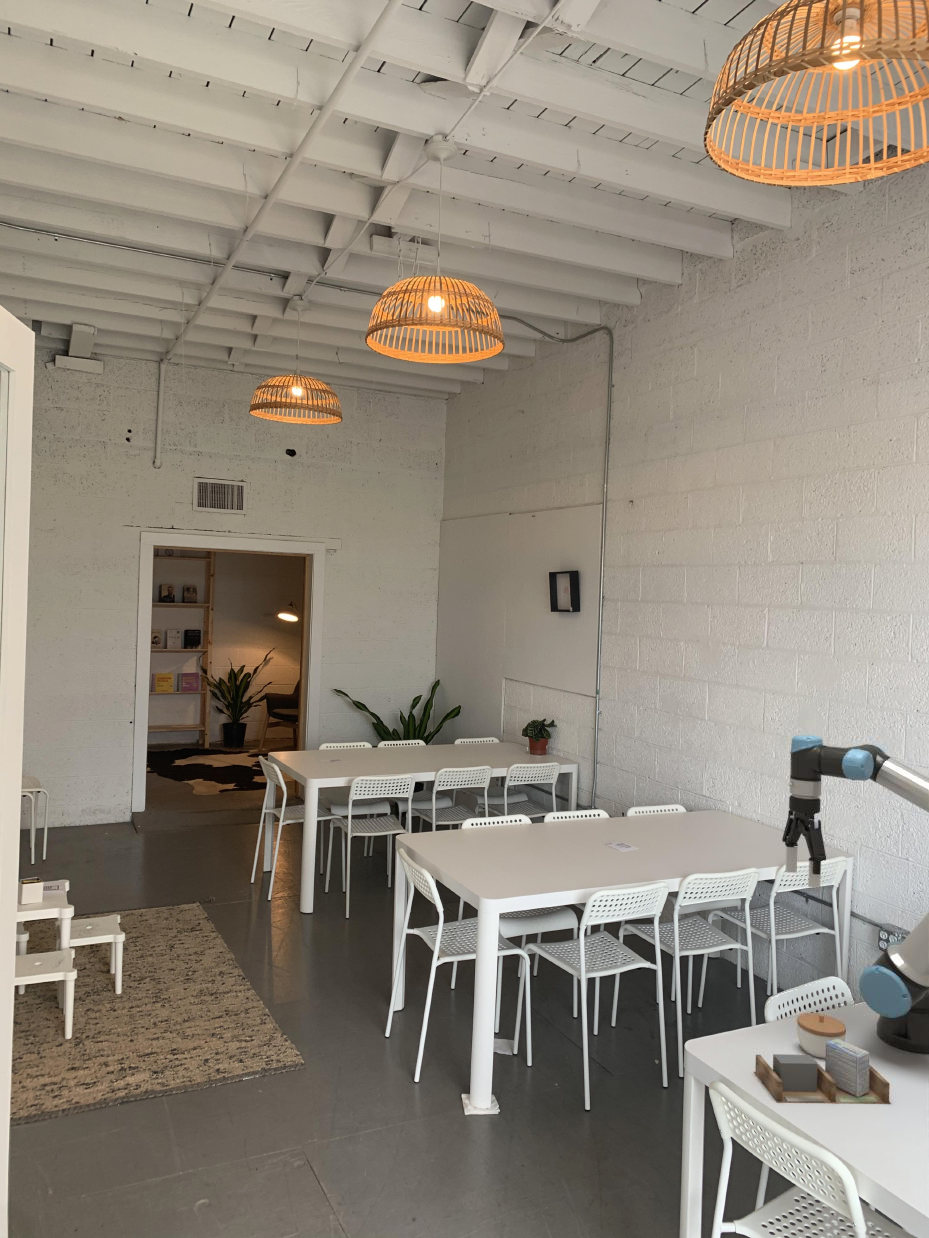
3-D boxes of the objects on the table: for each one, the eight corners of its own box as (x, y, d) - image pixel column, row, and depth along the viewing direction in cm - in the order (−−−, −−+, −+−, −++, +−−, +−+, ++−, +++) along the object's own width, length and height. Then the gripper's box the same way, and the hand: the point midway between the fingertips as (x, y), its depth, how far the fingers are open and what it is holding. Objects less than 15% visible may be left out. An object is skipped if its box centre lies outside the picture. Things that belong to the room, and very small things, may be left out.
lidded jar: (849, 1069, 202) (851, 1027, 202) (800, 1062, 204) (801, 1021, 204) (839, 1048, 213) (840, 1008, 213) (792, 1042, 215) (793, 1003, 215)
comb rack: (753, 1076, 197) (753, 1053, 197) (860, 1077, 198) (860, 1055, 198) (776, 1107, 184) (777, 1082, 184) (891, 1108, 185) (892, 1084, 185)
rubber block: (808, 1082, 193) (809, 1054, 193) (816, 1091, 189) (817, 1063, 189) (772, 1081, 193) (773, 1054, 193) (779, 1091, 189) (780, 1063, 189)
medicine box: (869, 1093, 189) (870, 1052, 190) (857, 1098, 187) (858, 1056, 187) (836, 1077, 196) (837, 1037, 196) (824, 1082, 193) (825, 1041, 194)
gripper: (771, 787, 239) (768, 865, 239) (812, 804, 214) (809, 892, 214) (798, 788, 239) (795, 866, 239) (842, 805, 214) (839, 893, 214)
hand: (802, 879), depth 226 cm, fingers open, 13 cm apart
